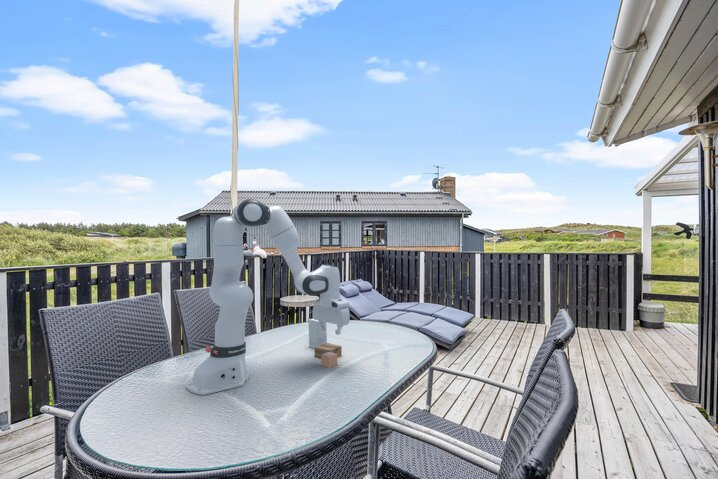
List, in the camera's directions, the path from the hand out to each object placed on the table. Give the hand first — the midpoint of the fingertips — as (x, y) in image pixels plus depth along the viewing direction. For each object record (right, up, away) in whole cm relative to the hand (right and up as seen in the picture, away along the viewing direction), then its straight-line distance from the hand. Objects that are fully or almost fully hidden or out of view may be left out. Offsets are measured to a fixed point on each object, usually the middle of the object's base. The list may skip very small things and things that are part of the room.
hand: (330, 332), depth 159 cm
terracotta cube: (0, -15, 0) cm, 15 cm away
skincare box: (-9, -15, +25) cm, 31 cm away
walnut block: (-2, -15, +12) cm, 19 cm away
